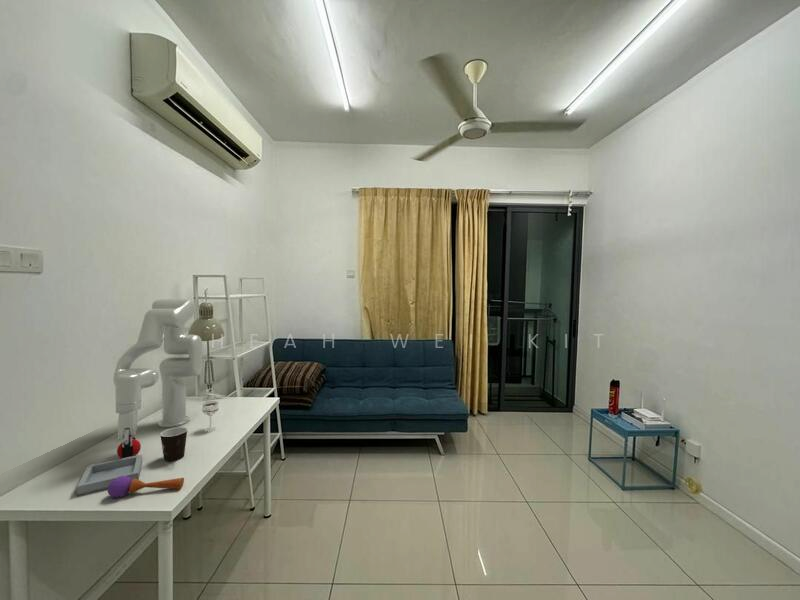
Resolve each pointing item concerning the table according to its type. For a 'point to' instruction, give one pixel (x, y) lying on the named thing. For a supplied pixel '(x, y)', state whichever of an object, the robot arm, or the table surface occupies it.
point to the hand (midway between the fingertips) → (128, 452)
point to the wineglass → (210, 411)
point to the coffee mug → (173, 443)
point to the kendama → (139, 485)
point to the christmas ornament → (135, 448)
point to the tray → (108, 473)
